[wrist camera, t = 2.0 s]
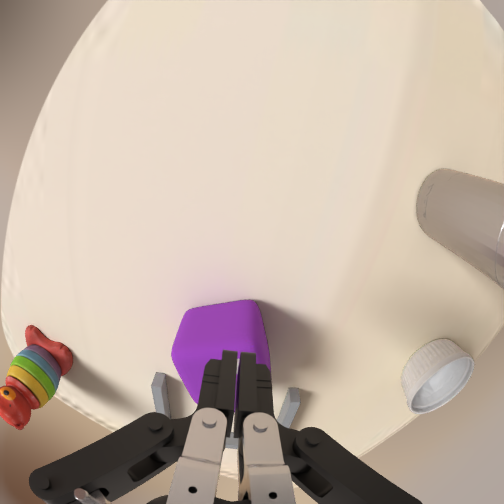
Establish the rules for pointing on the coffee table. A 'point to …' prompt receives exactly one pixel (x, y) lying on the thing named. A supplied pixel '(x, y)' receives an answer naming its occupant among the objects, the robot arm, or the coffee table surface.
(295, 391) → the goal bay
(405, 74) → the coffee table surface
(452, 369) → the ramekin
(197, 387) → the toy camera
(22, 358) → the stacking bear
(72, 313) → the coffee table surface
